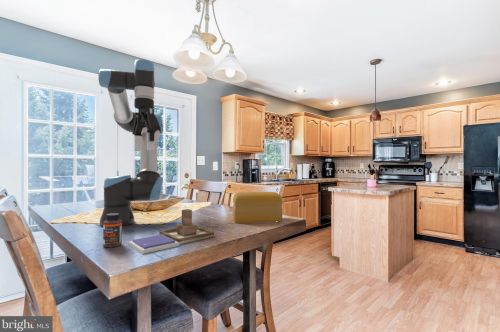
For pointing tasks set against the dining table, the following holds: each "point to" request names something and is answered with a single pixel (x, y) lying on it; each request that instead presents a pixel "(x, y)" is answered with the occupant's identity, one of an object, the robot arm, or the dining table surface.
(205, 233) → the print board
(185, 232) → the stamp
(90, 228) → the dining table surface
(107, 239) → the supplement bottle
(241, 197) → the bread
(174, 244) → the ink pad
